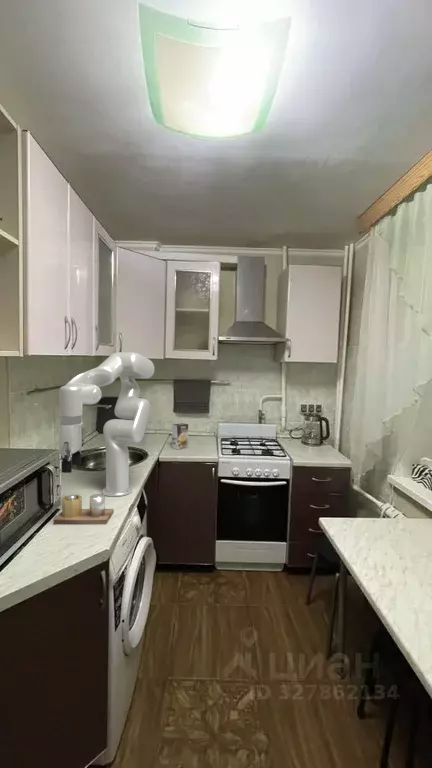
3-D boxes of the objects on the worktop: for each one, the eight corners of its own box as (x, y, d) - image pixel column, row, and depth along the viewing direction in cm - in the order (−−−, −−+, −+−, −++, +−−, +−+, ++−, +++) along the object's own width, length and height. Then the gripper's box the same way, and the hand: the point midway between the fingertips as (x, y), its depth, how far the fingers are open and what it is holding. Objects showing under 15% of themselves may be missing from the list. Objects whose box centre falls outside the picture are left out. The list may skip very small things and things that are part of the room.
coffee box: (177, 449, 243) (177, 425, 243) (171, 448, 248) (171, 424, 247) (188, 447, 250) (188, 424, 249) (182, 446, 254) (182, 423, 254)
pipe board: (64, 512, 137) (64, 508, 137) (113, 512, 137) (113, 508, 137) (53, 524, 127) (53, 520, 127) (106, 524, 127) (106, 520, 127)
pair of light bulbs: (70, 511, 135) (70, 492, 134) (106, 511, 135) (106, 492, 135) (64, 517, 129) (64, 497, 129) (102, 517, 130) (102, 497, 129)
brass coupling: (66, 510, 135) (66, 494, 135) (83, 510, 135) (83, 494, 135) (60, 517, 129) (59, 500, 129) (77, 517, 129) (77, 500, 129)
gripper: (69, 417, 139) (70, 462, 140) (50, 424, 122) (51, 475, 123) (89, 417, 139) (90, 462, 140) (73, 424, 122) (73, 475, 123)
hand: (71, 468), depth 131 cm, fingers open, 9 cm apart
